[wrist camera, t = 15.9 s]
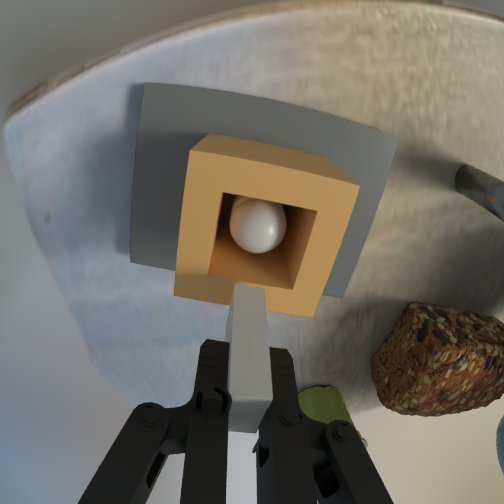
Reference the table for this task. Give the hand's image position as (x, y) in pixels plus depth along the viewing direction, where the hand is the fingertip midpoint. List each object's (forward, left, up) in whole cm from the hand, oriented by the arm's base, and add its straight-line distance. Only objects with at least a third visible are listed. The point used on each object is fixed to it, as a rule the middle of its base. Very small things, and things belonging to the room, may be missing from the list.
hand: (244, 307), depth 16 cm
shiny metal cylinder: (-18, -9, -10) cm, 22 cm away
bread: (-26, +9, -10) cm, 29 cm away
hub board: (0, -3, -10) cm, 10 cm away
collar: (0, -3, -8) cm, 9 cm away
